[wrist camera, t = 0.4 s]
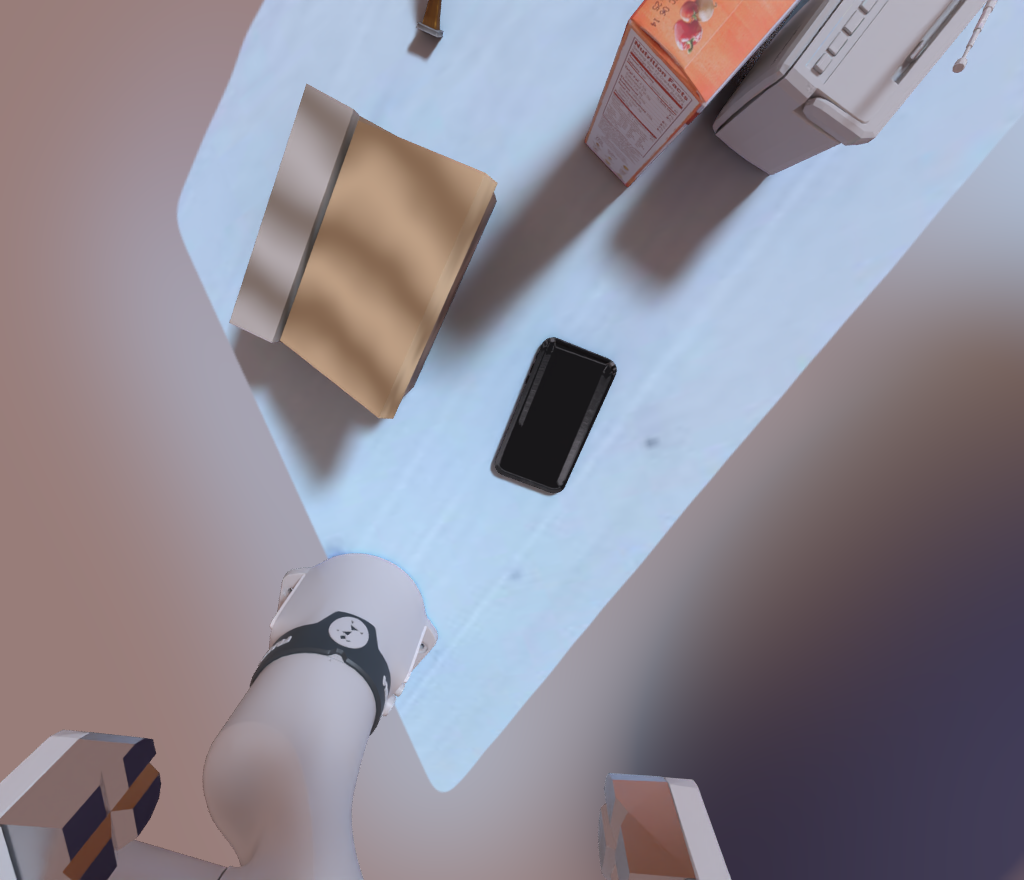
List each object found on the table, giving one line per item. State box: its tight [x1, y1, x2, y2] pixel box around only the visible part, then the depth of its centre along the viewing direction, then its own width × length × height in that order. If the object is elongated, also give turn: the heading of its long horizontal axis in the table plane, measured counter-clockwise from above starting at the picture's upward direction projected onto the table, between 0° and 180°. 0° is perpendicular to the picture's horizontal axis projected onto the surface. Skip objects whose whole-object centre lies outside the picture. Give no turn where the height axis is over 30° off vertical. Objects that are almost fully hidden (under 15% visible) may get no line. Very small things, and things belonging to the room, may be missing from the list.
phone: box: [495, 337, 617, 493], centre depth 51 cm, size 8×1×15 cm
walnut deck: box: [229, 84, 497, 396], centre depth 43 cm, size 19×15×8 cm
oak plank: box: [280, 121, 497, 419], centre depth 37 cm, size 18×13×2 cm
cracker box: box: [585, 0, 801, 187], centre depth 33 cm, size 14×6×21 cm, turn 138°
